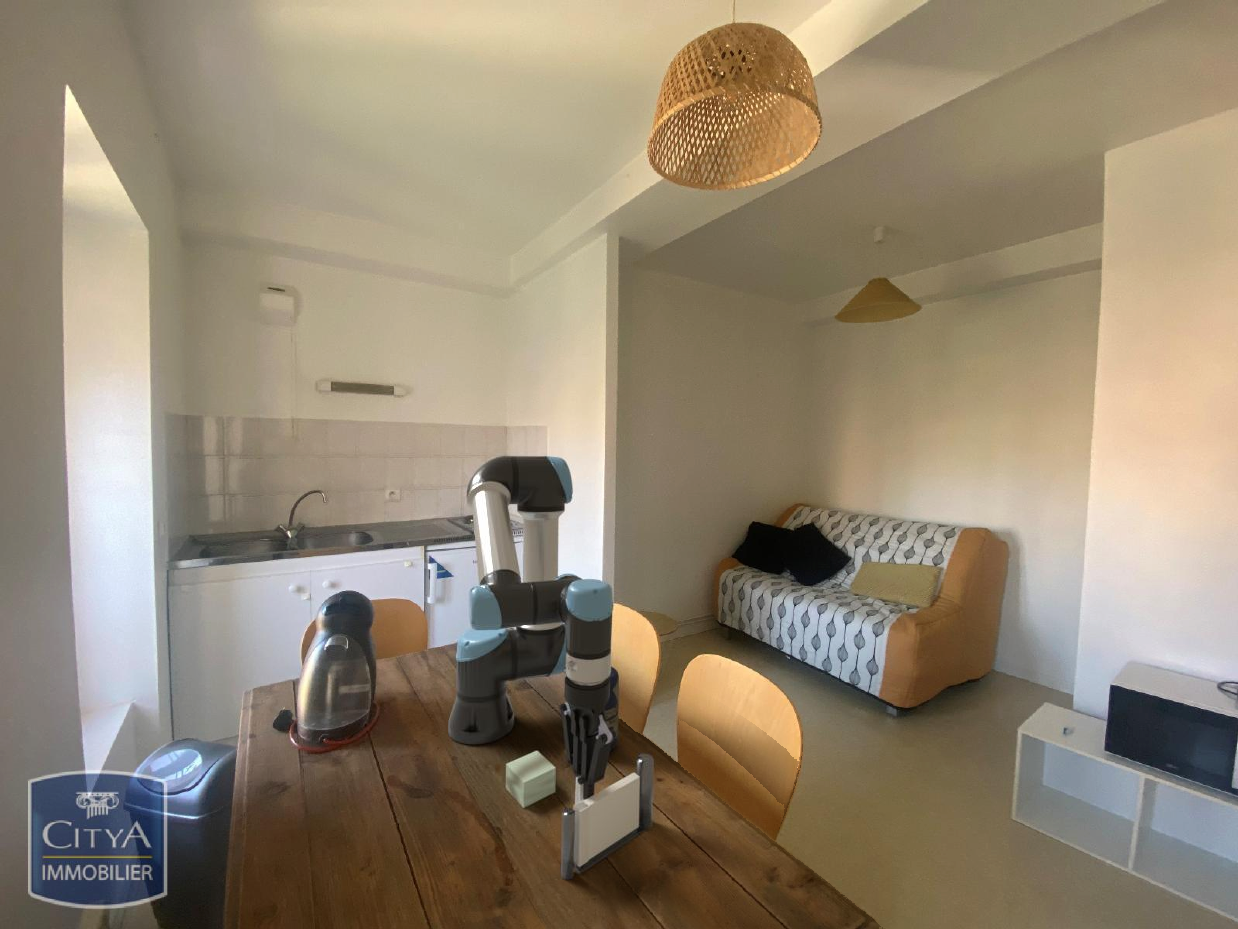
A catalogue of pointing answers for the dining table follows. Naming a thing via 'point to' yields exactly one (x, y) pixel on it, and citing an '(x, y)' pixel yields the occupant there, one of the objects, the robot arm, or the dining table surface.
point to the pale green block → (530, 778)
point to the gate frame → (645, 823)
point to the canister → (613, 705)
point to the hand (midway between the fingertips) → (583, 813)
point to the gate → (606, 818)
